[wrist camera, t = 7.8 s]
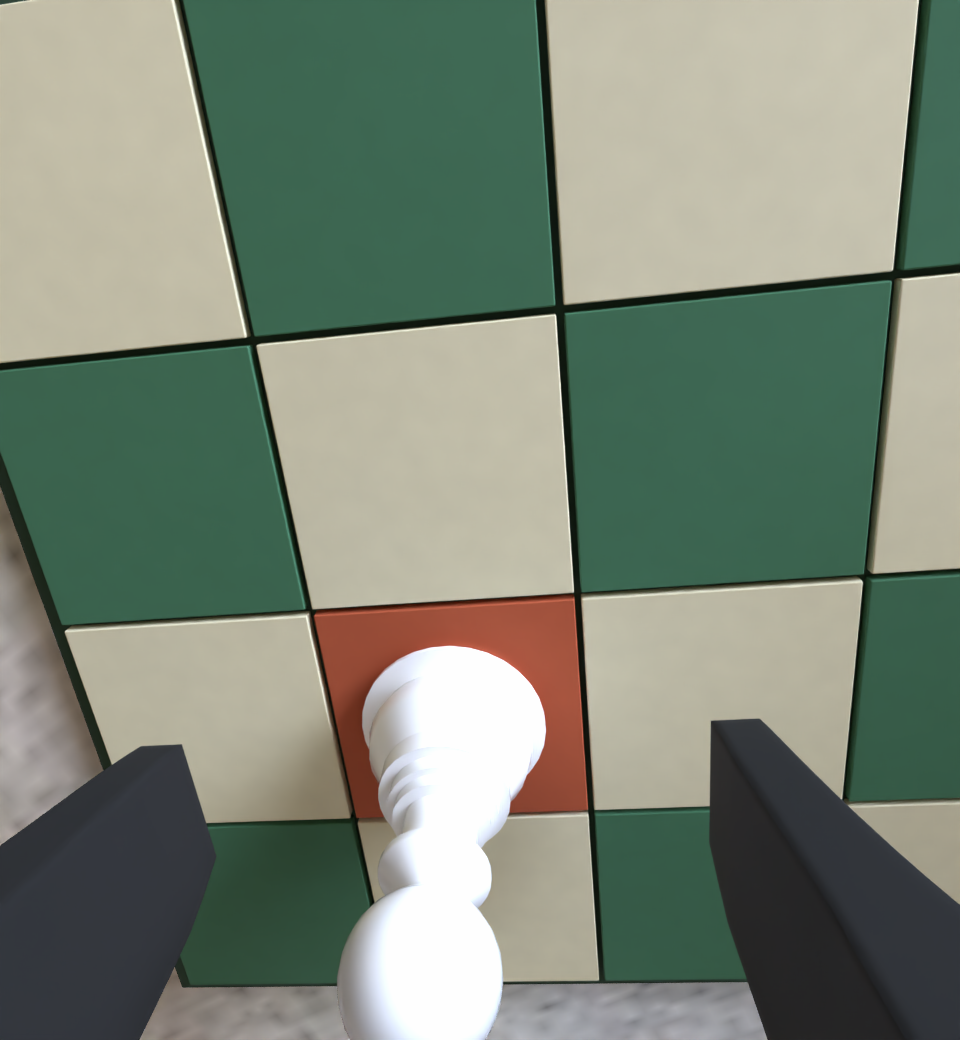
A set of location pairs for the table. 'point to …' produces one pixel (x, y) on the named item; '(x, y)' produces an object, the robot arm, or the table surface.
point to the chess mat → (492, 427)
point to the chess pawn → (437, 843)
